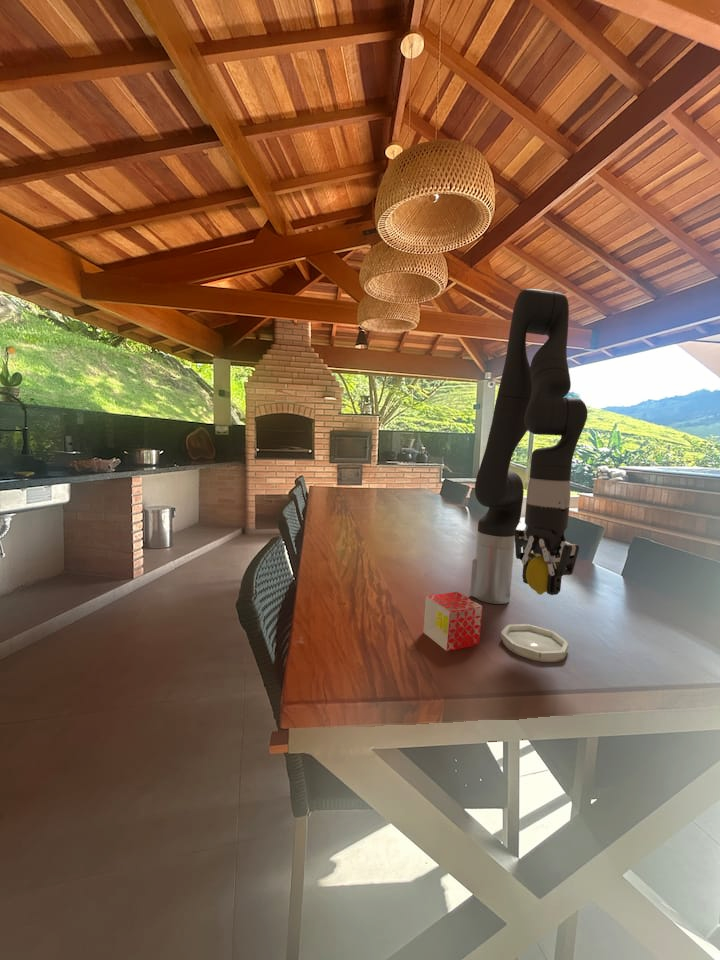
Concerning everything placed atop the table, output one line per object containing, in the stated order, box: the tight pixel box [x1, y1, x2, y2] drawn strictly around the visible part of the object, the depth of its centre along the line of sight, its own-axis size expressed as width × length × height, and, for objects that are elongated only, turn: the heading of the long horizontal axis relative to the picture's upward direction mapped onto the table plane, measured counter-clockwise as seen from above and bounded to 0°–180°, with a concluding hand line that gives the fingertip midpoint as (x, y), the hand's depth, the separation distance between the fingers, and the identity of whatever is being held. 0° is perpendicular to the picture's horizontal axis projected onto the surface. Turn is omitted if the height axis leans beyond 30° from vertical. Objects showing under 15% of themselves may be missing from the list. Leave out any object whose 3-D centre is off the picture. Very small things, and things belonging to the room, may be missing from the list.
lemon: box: [526, 555, 556, 596], centre depth 78 cm, size 6×6×8 cm
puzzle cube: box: [423, 591, 483, 652], centre depth 81 cm, size 8×8×8 cm
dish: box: [500, 623, 570, 663], centre depth 79 cm, size 12×12×2 cm
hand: (540, 588), depth 78 cm, fingers closed on lemon, 5 cm apart
